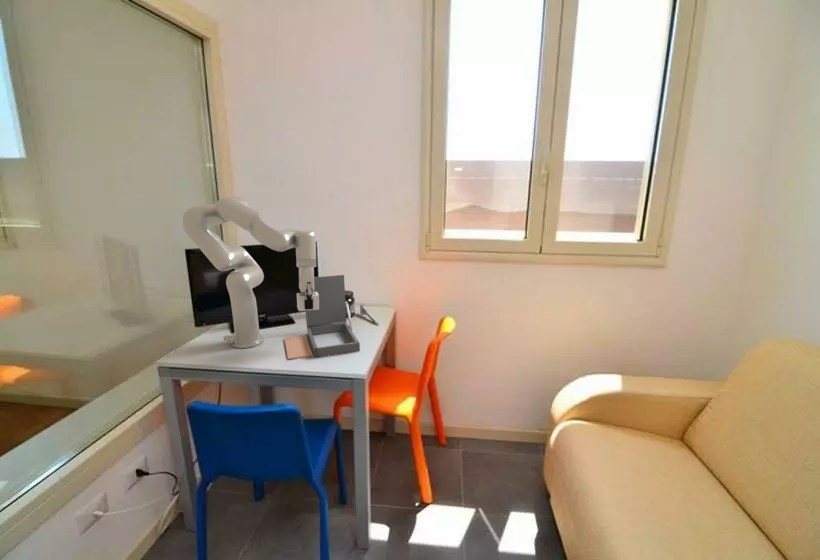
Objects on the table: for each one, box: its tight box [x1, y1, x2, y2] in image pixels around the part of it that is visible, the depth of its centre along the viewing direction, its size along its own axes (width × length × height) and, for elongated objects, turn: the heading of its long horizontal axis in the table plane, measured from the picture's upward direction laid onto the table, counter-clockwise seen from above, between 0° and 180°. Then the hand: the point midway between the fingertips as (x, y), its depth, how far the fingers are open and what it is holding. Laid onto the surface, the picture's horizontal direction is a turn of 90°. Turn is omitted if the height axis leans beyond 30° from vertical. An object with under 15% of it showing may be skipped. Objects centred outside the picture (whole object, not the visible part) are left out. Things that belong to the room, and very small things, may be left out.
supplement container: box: [345, 289, 356, 319], centre depth 200 cm, size 10×10×12 cm
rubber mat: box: [283, 334, 313, 361], centre depth 162 cm, size 9×22×1 cm, turn 20°
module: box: [296, 292, 319, 312], centre depth 160 cm, size 8×5×6 cm, turn 112°
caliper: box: [359, 303, 381, 326], centre depth 195 cm, size 20×1×6 cm, turn 31°
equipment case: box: [305, 274, 361, 359], centre depth 165 cm, size 19×26×26 cm
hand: (308, 306), depth 161 cm, fingers closed on module, 5 cm apart
